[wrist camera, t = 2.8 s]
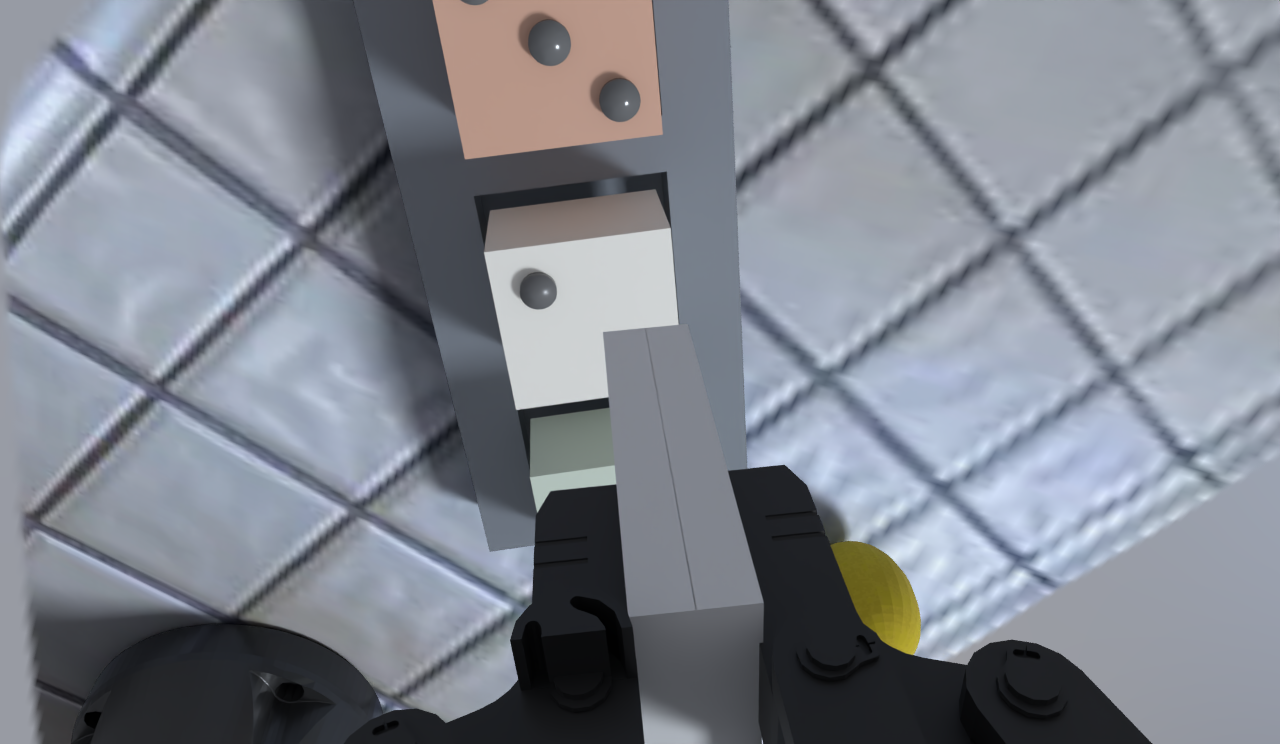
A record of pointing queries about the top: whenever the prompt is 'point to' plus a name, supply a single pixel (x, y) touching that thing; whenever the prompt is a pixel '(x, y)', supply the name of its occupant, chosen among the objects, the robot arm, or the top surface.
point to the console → (469, 188)
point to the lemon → (880, 594)
